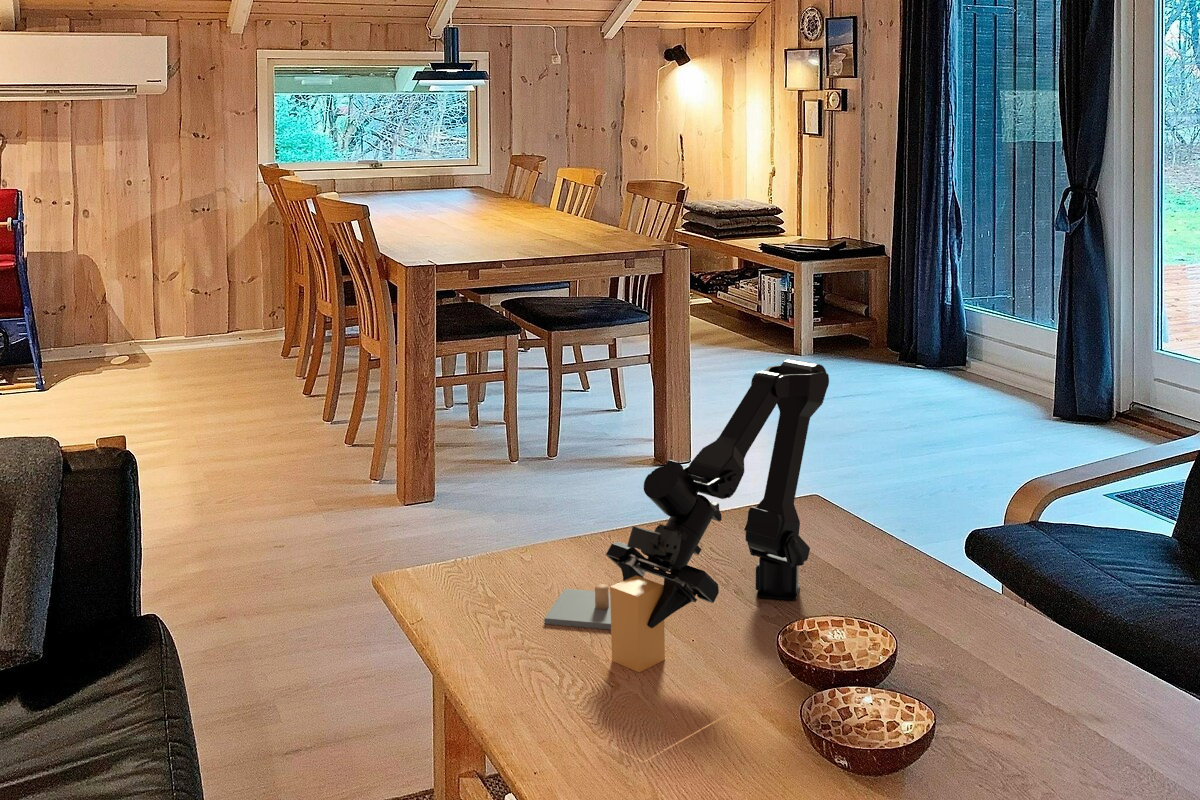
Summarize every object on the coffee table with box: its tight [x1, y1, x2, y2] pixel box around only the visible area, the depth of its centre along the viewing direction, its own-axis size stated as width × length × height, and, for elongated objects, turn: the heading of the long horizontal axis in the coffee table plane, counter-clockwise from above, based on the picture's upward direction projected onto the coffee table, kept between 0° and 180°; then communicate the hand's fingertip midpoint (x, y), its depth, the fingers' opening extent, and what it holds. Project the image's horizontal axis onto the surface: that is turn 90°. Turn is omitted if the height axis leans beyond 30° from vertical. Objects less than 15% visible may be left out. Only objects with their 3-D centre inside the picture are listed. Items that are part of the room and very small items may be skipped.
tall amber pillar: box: [609, 576, 666, 673], centre depth 192 cm, size 6×6×12 cm
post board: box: [543, 583, 611, 631], centre depth 210 cm, size 16×12×4 cm
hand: (634, 621), depth 191 cm, fingers closed on tall amber pillar, 6 cm apart
